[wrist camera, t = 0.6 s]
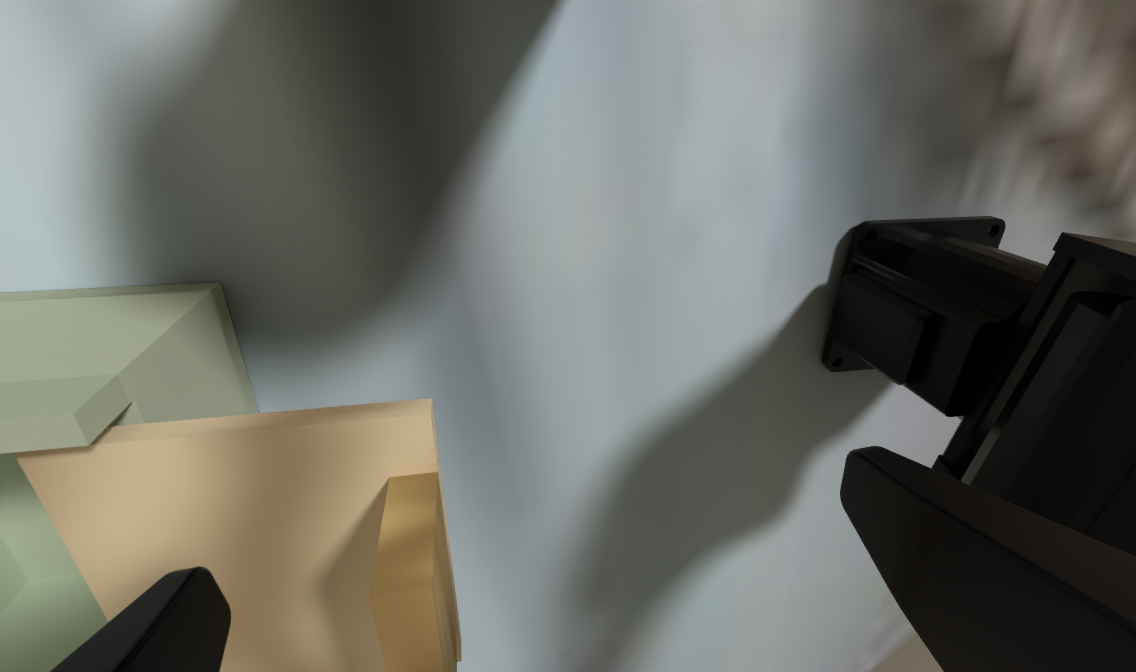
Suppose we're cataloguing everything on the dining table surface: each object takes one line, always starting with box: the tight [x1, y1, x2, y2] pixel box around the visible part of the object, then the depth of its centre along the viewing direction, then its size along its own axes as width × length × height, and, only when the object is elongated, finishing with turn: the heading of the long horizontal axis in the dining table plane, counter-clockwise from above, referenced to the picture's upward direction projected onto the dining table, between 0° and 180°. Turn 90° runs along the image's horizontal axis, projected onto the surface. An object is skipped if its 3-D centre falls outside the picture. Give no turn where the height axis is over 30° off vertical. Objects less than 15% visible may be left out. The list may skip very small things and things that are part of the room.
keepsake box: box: [0, 282, 259, 672], centre depth 16 cm, size 10×12×8 cm
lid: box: [13, 398, 461, 672], centre depth 13 cm, size 9×10×4 cm
